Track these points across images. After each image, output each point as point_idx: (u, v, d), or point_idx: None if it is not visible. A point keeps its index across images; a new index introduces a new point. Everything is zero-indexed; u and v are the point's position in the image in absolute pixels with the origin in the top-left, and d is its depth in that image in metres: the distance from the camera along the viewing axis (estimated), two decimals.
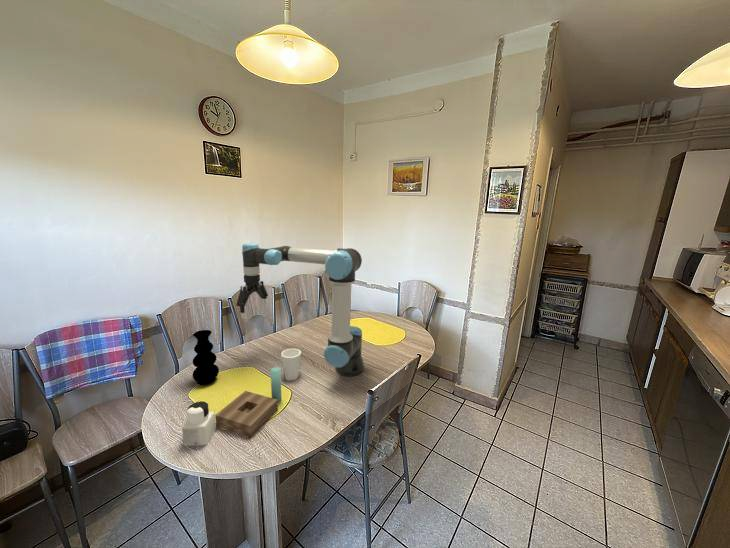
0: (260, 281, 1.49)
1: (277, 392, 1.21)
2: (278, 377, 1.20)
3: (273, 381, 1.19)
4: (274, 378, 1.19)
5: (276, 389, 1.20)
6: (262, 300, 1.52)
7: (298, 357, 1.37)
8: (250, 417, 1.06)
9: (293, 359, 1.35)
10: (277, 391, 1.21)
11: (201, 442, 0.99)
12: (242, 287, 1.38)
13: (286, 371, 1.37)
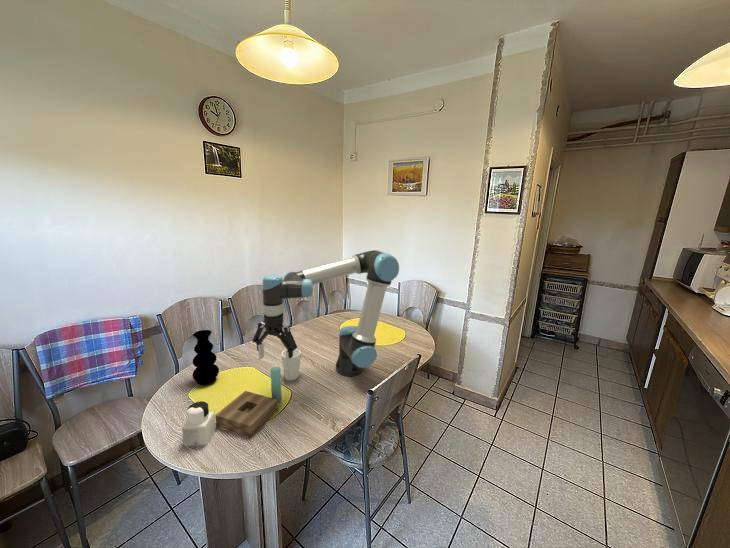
0: (285, 327, 1.14)
1: (277, 392, 1.21)
2: (278, 377, 1.20)
3: (273, 381, 1.19)
4: (274, 378, 1.19)
5: (276, 389, 1.20)
6: None
7: (298, 357, 1.37)
8: (250, 417, 1.06)
9: (293, 359, 1.35)
10: (277, 391, 1.21)
11: (201, 442, 0.99)
12: None
13: (286, 371, 1.37)
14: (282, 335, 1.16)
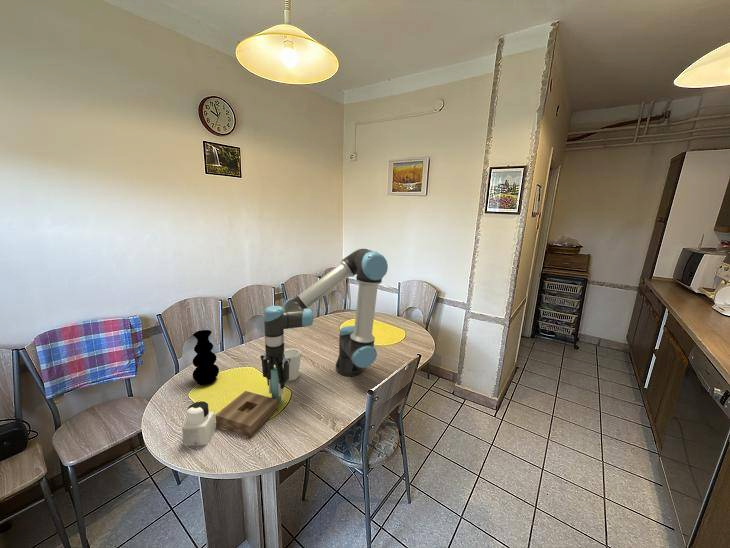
0: (286, 360, 1.17)
1: (277, 392, 1.21)
2: (278, 377, 1.20)
3: (273, 381, 1.19)
4: (274, 378, 1.19)
5: (276, 389, 1.20)
6: None
7: (298, 357, 1.37)
8: (250, 417, 1.06)
9: (293, 359, 1.35)
10: (277, 391, 1.21)
11: (201, 442, 0.99)
12: None
13: None
14: (280, 366, 1.19)
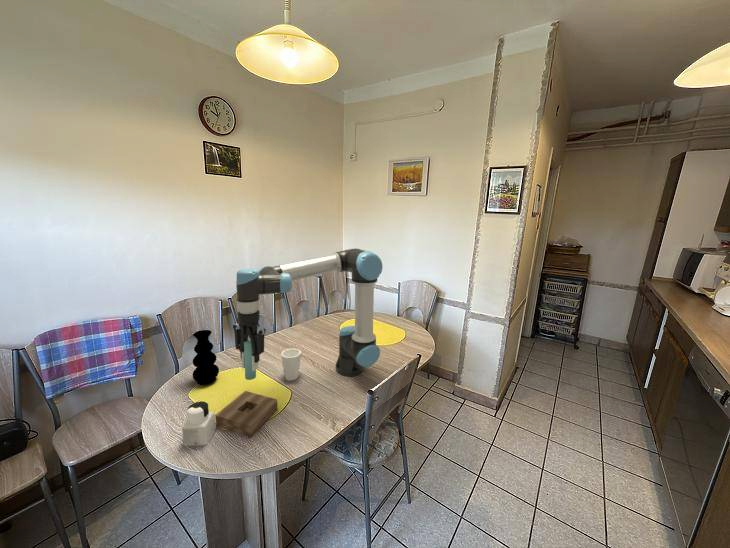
0: (261, 329, 1.05)
1: (251, 367, 1.08)
2: (252, 350, 1.08)
3: (246, 354, 1.07)
4: (247, 351, 1.07)
5: (249, 363, 1.08)
6: None
7: (298, 357, 1.37)
8: (250, 417, 1.06)
9: (293, 359, 1.35)
10: (250, 366, 1.08)
11: (201, 442, 0.99)
12: None
13: (286, 371, 1.37)
14: (254, 336, 1.07)
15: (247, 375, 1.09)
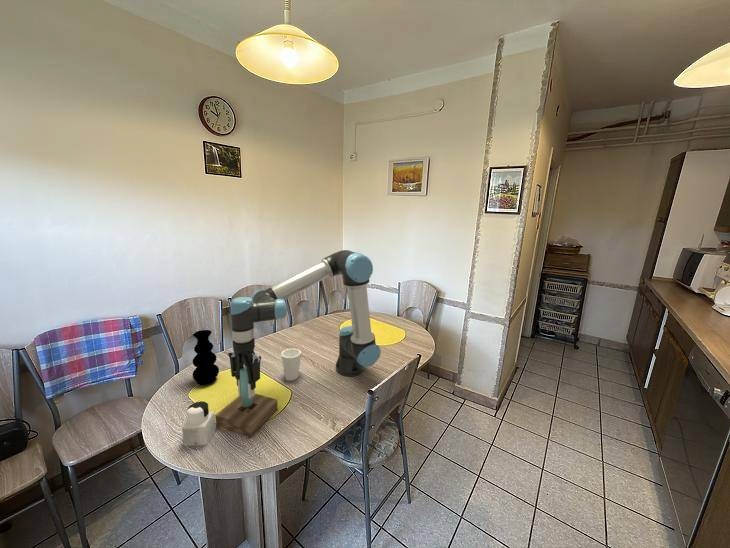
0: (256, 357, 1.05)
1: (247, 394, 1.09)
2: (248, 378, 1.08)
3: (242, 382, 1.07)
4: (243, 379, 1.07)
5: (245, 391, 1.08)
6: None
7: (298, 357, 1.37)
8: (250, 417, 1.06)
9: (293, 359, 1.35)
10: (247, 394, 1.08)
11: (201, 442, 0.99)
12: None
13: (286, 371, 1.37)
14: (250, 364, 1.07)
15: (244, 402, 1.09)
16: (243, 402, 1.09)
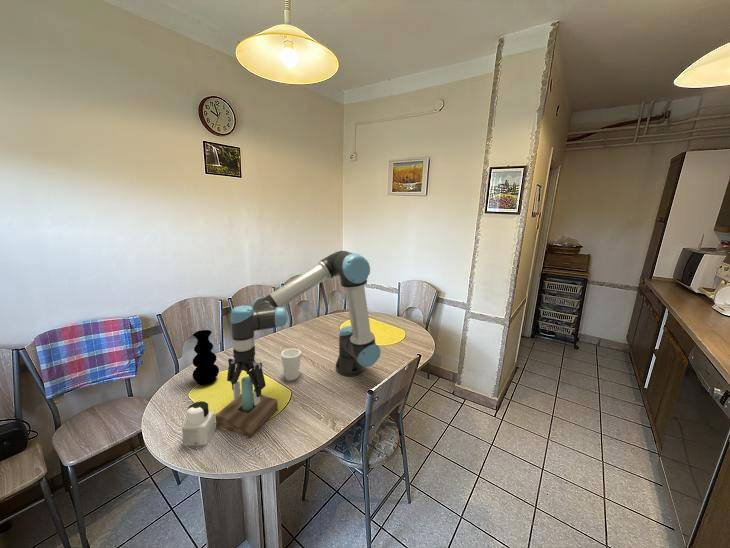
0: (257, 364, 1.05)
1: (248, 404, 1.10)
2: (249, 388, 1.08)
3: (244, 392, 1.08)
4: (244, 389, 1.08)
5: (246, 401, 1.09)
6: None
7: (298, 357, 1.37)
8: (250, 417, 1.06)
9: (293, 359, 1.35)
10: (248, 404, 1.09)
11: (201, 442, 0.99)
12: None
13: (286, 371, 1.37)
14: (252, 372, 1.07)
15: None
16: None
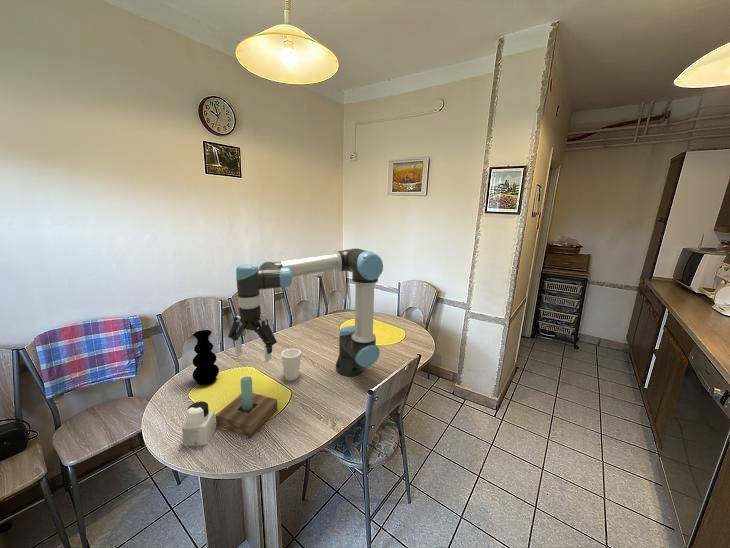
0: (263, 320, 1.05)
1: (248, 404, 1.09)
2: (249, 388, 1.08)
3: (243, 392, 1.08)
4: (244, 389, 1.08)
5: (246, 401, 1.09)
6: None
7: (298, 357, 1.37)
8: (250, 417, 1.06)
9: (293, 359, 1.35)
10: (247, 404, 1.09)
11: (201, 442, 0.99)
12: None
13: (286, 371, 1.37)
14: (260, 329, 1.07)
15: None
16: None
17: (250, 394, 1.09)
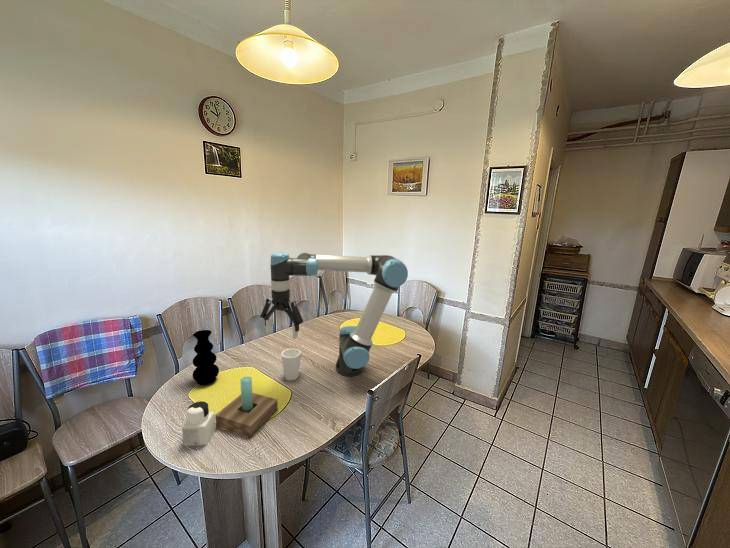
0: (292, 302, 1.21)
1: (248, 404, 1.09)
2: (249, 388, 1.08)
3: (243, 392, 1.08)
4: (244, 389, 1.08)
5: (246, 401, 1.09)
6: None
7: (298, 357, 1.37)
8: (250, 417, 1.06)
9: (293, 359, 1.35)
10: (247, 404, 1.09)
11: (201, 442, 0.99)
12: None
13: (286, 371, 1.37)
14: (289, 310, 1.22)
15: None
16: None
17: (250, 394, 1.09)
